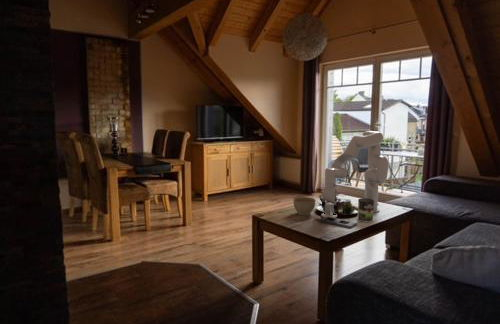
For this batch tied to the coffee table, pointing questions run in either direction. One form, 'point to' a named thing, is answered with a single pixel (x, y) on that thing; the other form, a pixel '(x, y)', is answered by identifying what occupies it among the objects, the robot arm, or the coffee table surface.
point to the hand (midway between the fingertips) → (329, 208)
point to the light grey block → (329, 209)
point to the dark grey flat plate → (338, 222)
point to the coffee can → (365, 210)
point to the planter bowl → (304, 205)
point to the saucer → (329, 216)
